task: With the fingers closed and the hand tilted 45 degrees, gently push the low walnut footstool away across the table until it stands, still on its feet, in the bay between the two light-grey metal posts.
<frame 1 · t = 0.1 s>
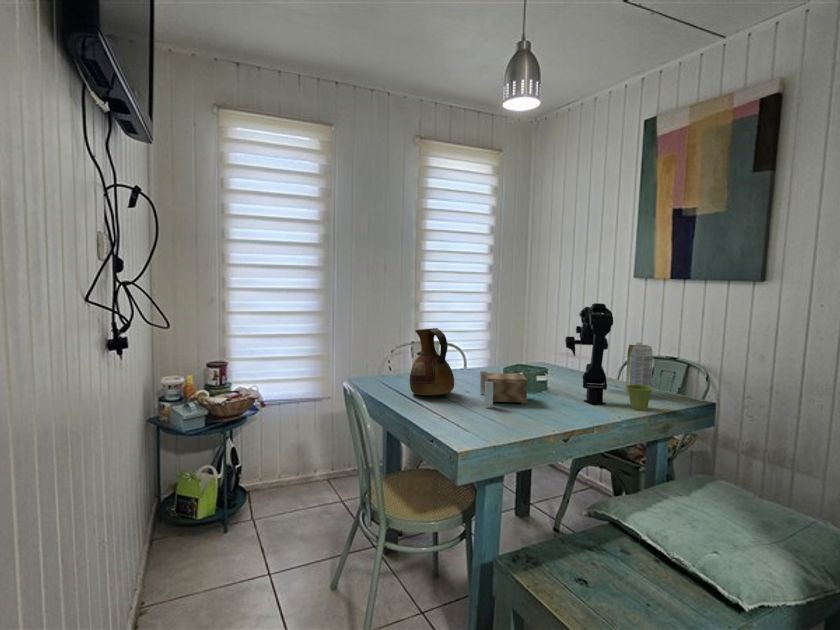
hand: (584, 356, 225), 15 cm above the table, tool tilted 35°, fingers open, 9 cm apart
post 1: (483, 393, 208), on the table
juice carton: (637, 396, 208), on the table
plant pot: (638, 408, 188), on the table
post 2: (488, 407, 186), on the table
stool: (504, 400, 197), on the table
ceramic pitcher: (431, 395, 205), on the table
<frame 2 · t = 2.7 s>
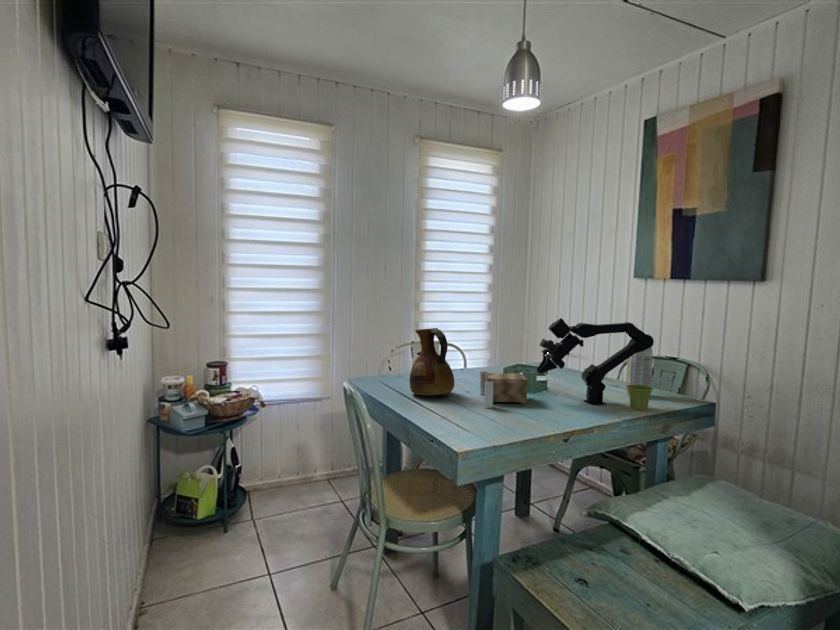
hand: (538, 371, 196), 13 cm above the table, tool tilted 45°, fingers open, 3 cm apart
nothing on the table moved.
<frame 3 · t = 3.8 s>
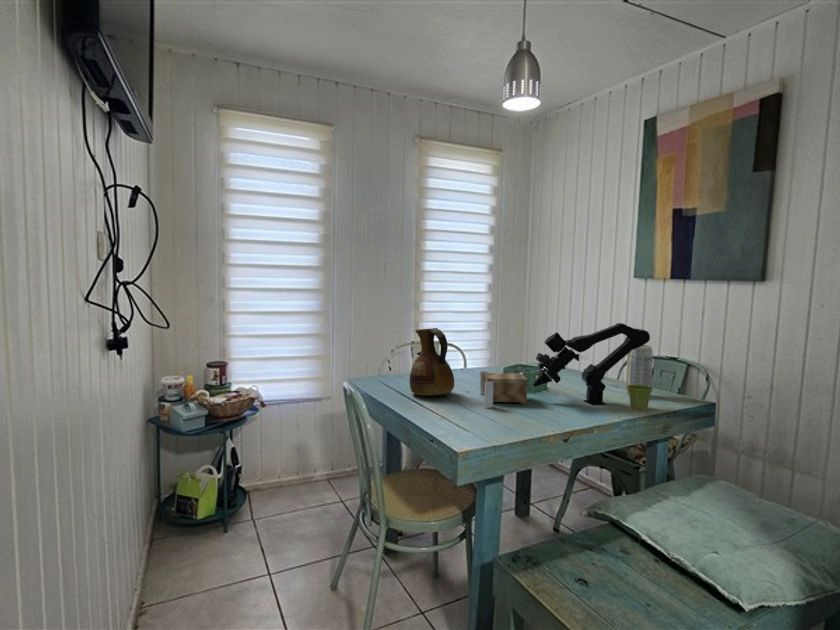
hand: (533, 385, 196), 7 cm above the table, tool tilted 45°, fingers closed
nothing on the table moved.
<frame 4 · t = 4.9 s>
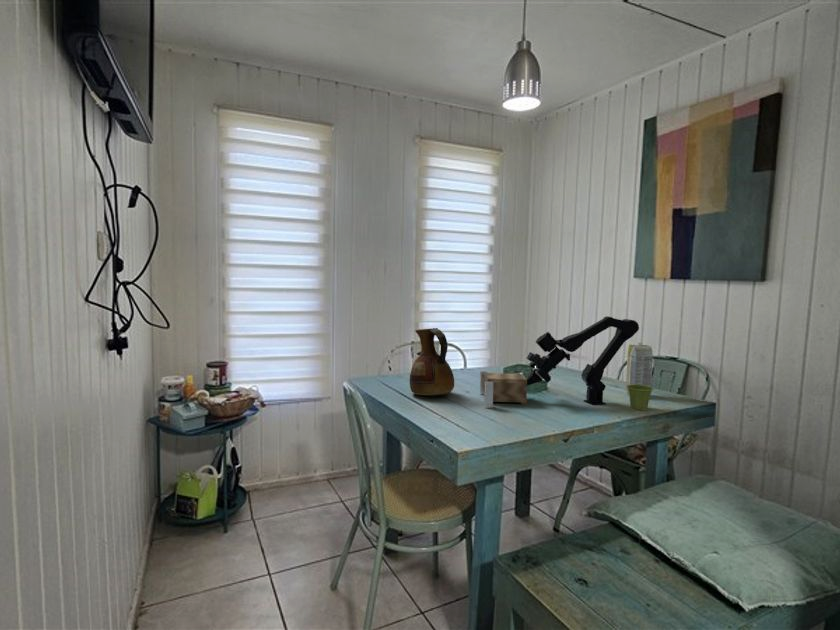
hand: (524, 385, 196), 7 cm above the table, tool tilted 45°, fingers closed, pressing on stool
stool: (504, 400, 197), on the table, touching gripper
everything else where it was.
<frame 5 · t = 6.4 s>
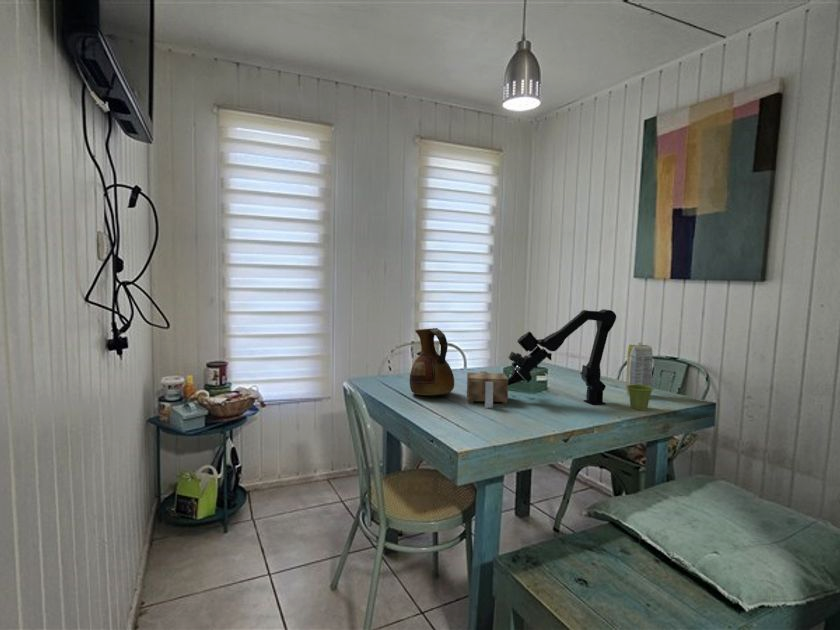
hand: (506, 384, 197), 7 cm above the table, tool tilted 45°, fingers closed, pressing on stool
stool: (486, 400, 197), on the table, touching gripper
everything else where it was.
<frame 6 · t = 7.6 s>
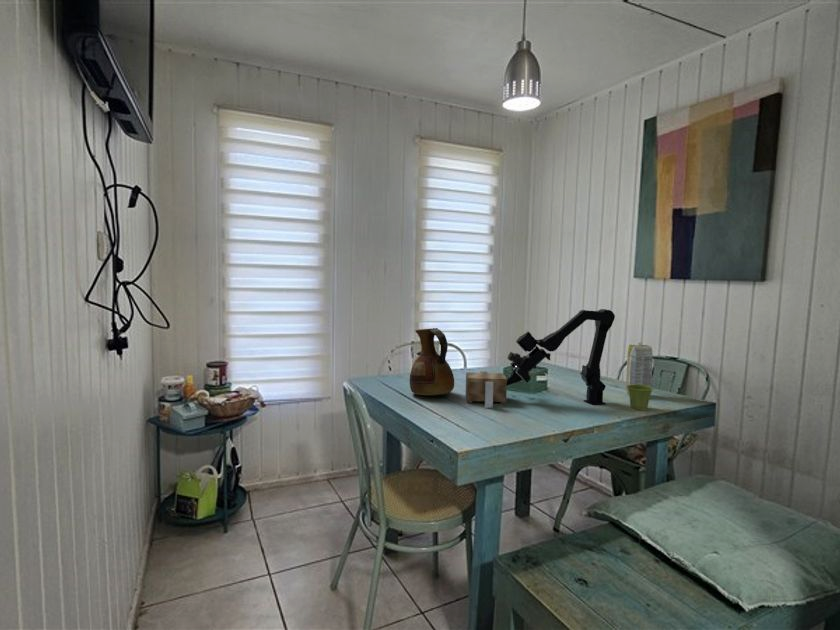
hand: (505, 384, 197), 7 cm above the table, tool tilted 45°, fingers closed
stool: (485, 400, 197), on the table
everything else where it was.
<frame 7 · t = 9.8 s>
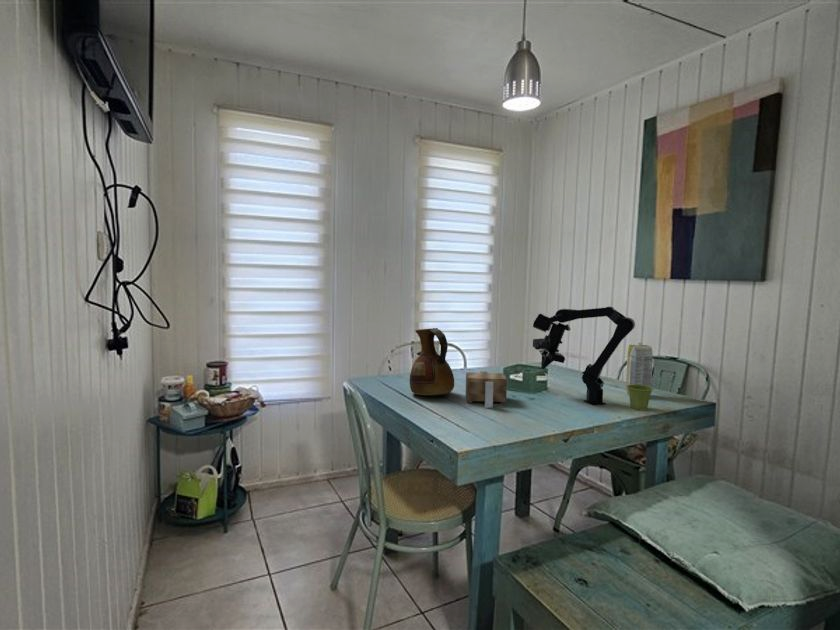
hand: (542, 368, 206), 12 cm above the table, tool tilted 20°, fingers closed
nothing on the table moved.
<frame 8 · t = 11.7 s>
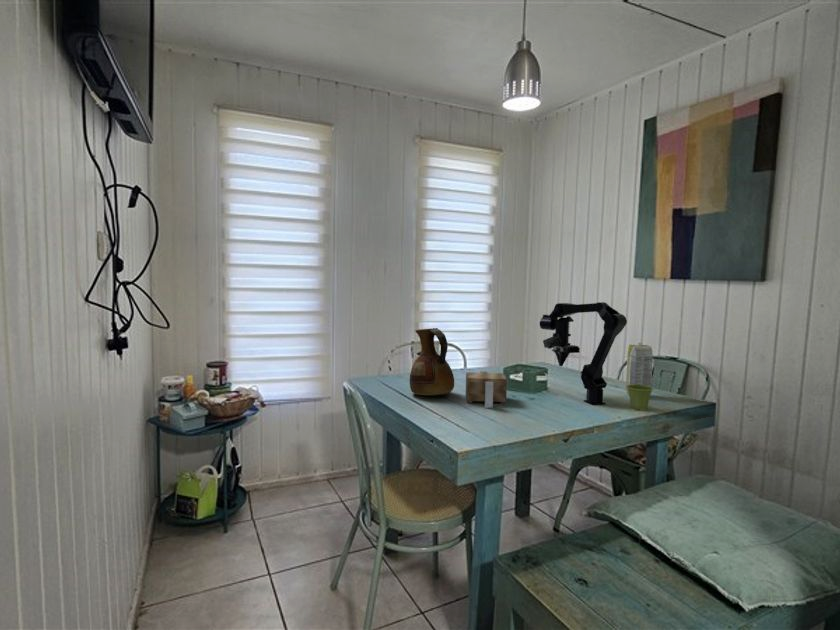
hand: (560, 366, 208), 13 cm above the table, tool pointing down, fingers closed
nothing on the table moved.
at the end: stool inside the target area (0.4 cm from its centre), on the table; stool tilted 0°; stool moved 8.2 cm from its start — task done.
